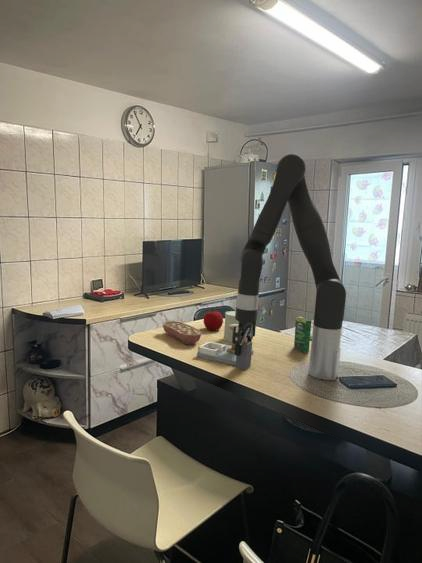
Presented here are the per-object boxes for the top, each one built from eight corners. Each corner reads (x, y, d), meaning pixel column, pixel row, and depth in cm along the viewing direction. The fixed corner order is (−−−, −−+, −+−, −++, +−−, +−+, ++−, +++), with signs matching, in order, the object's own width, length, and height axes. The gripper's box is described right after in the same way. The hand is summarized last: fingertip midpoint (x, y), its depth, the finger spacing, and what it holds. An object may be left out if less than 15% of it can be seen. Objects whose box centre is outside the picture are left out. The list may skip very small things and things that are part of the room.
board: (253, 353, 159) (253, 345, 159) (236, 365, 145) (237, 356, 145) (216, 346, 166) (216, 337, 166) (196, 356, 152) (197, 347, 152)
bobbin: (248, 350, 158) (250, 326, 157) (241, 355, 152) (243, 329, 151) (231, 346, 161) (233, 323, 160) (224, 351, 155) (225, 326, 154)
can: (248, 339, 178) (250, 312, 177) (238, 344, 171) (240, 316, 169) (230, 335, 183) (231, 309, 181) (219, 339, 175) (221, 312, 174)
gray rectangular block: (250, 366, 145) (252, 337, 143) (246, 370, 141) (248, 340, 140) (240, 364, 147) (242, 335, 145) (235, 367, 143) (237, 338, 142)
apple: (215, 333, 185) (216, 311, 184) (198, 329, 190) (200, 308, 189) (226, 329, 193) (227, 308, 192) (209, 325, 198) (211, 305, 196)
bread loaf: (158, 333, 180) (159, 322, 180) (178, 331, 186) (178, 320, 185) (185, 348, 162) (186, 336, 161) (206, 345, 167) (207, 333, 167)
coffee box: (292, 347, 171) (295, 316, 169) (299, 346, 172) (301, 316, 170) (302, 353, 164) (305, 321, 162) (309, 352, 165) (312, 320, 163)
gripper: (249, 312, 133) (244, 360, 136) (264, 305, 146) (260, 349, 148) (228, 308, 137) (224, 355, 139) (245, 302, 149) (241, 345, 151)
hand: (242, 352), depth 144 cm, fingers open, 8 cm apart
